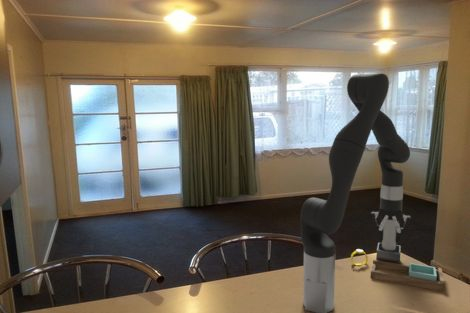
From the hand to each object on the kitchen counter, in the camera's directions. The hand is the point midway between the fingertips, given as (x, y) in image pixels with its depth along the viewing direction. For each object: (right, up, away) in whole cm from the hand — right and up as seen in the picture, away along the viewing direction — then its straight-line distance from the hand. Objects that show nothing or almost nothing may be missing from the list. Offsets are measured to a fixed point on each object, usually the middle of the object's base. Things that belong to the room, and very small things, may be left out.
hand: (389, 240), depth 132 cm
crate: (+6, -11, -12) cm, 17 cm away
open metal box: (0, -9, +2) cm, 10 cm away
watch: (-11, -10, +1) cm, 15 cm away
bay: (+1, -11, -10) cm, 15 cm away
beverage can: (0, -4, +1) cm, 4 cm away
